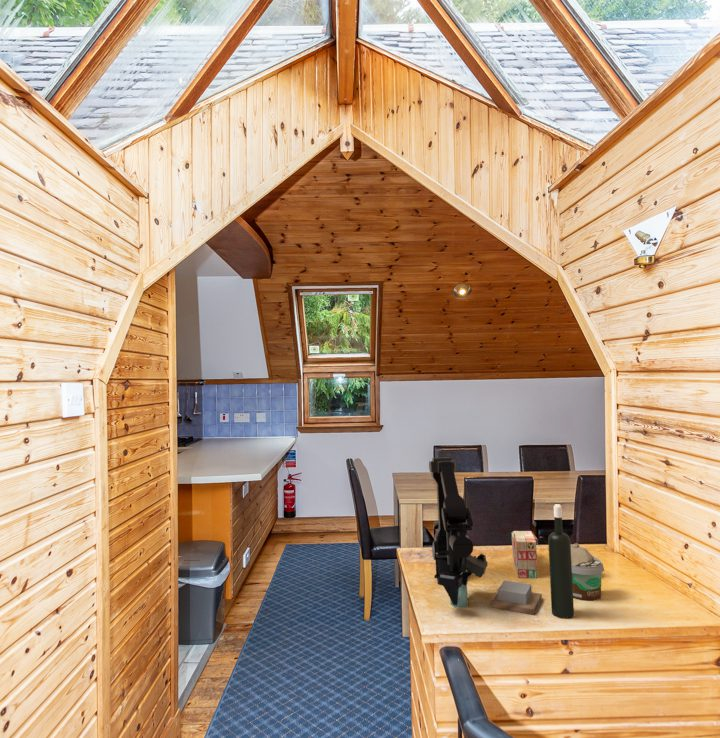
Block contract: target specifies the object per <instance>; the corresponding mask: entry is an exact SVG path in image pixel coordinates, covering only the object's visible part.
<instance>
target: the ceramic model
mask: <svg viewBox="0 0 720 738" xmlns="http://www.w3.org/2000/svg"><path fill="white" fill-rule="evenodd" d="M594 557H595V556H594V555H592V554H591V552H589V551H588V549H587V548H586V547H582V546H580V544H579V543H577V542H575V543H573V544H572V543H571V563H572V565H573V566H576V565H578V564H580V563H582V562H591V561H594Z"/></svg>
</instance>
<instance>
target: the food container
mask: <svg viewBox="0 0 720 738" xmlns="http://www.w3.org/2000/svg"><path fill="white" fill-rule="evenodd" d="M604 568H605V567H604V565H603V562H602V560H600V559H599V558H597V557H595V556H594V561H591V562H582V563H580V564H578V565H576V566H573V565H572V583H573V600H574V599H575V600H579V601H586V602H593V601H598V600H600V599H601V598H602V576H603V575H602V574H603V572H604V571H605V569H604Z"/></svg>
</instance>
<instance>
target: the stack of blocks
mask: <svg viewBox="0 0 720 738" xmlns="http://www.w3.org/2000/svg"><path fill="white" fill-rule="evenodd" d="M511 545H512V546H511V549H512V558H513V559H512V560H513V563H514V566H515V570H516V575H517V578H518V579H538V566H537V565H538V563H537V560H538V557H537V556H538V554H537V541H536V538H535V536H534V534H533V532H532V530H513V531H512V532H511Z"/></svg>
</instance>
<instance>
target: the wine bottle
mask: <svg viewBox="0 0 720 738" xmlns="http://www.w3.org/2000/svg"><path fill="white" fill-rule="evenodd" d="M562 507H563V506H561V503H559V504H558V503H557V504H554V505H553V517H554V518H553V519H554V531H553V532H551V533H550V534H549V535H548V539H547V540H548V541H547V542H548V543H547V544H548V545H547V546H548V561H549V562H548V564H549V579H550V580H549V583H550V585H549V587H550V602H551V603H550V604H551V615H553V616H554V617H556V618H560V619H571V618H573V617H574V616H575V607H574V598H573V583H572V563H571V544H572V543H571V538H570V536H569V535H568V534H567V533H565V532H563V508H562Z"/></svg>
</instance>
